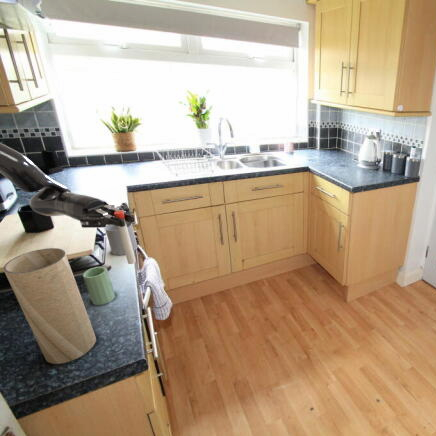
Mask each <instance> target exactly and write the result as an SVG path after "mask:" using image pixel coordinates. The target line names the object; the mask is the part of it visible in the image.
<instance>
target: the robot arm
mask: <svg viewBox="0 0 436 436" xmlns="http://www.w3.org/2000/svg"><path fill="white" fill-rule="evenodd" d="M0 174H1V175H3V177H5V178H6V179H7V180H9V182H11V183H12V184H13V185H15V186H16V187H17V188H18V189H19V190H21V191H22V192H24V193H35V192H36V193H35V194H34V195H33V196H31V198H30V199H29V207H30V208H31V209H32V210H33V211H34V212H35V213H37V214H39V215H42V216H46V217H61V216H65V217H69V218H71V219H73V220H76V221H78V222H79V223H80V226H81V228H83V229H84V228H85V229H88V228H89V229H90V228H95V229H96V228H99V229H102V228H105V227H106V226H107V225H115V226H120V227H124V226H125V222H124V220H123V219H122V218H118V217H115V215H114V212H116V211H123V212H124V216H125V221H126V222H130V223H132V224H133V223H135V220H136V219H135V215H134V214H132V213H131V210H130V207H129V205H128V204H127V202H122V203H121V204H120V205H118V206H116V204H109V203H108V202H107V201H105V200H104V199H102V198H97V197H94V196H91V195H87V194H80V193H76V192H72V190H71V189H70V188H69V187H67V186H66V185H64V184H63V183H61V182H59V181H56V180H54V179H53V178H51V177H50V176H48V175H47V174H46V173H44V172H43V170H41V169H40V168H39V167H38V165H36V164H35V163H34V162H33V161H32V160H31V159H30V158H29V157H27V156H26V155H24V154H22V153H21V152H19V151H17V150H15V149H14V148H12V147H9V146H8V145H6V144H5V143H2V142H0Z"/></svg>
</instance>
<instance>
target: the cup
mask: <svg viewBox="0 0 436 436" xmlns="http://www.w3.org/2000/svg"><path fill="white" fill-rule="evenodd" d="M126 225H127V229H128V233H129V236H130V240H131V244H132V248H133V252H135V251H136V250H138V248H139V247H138V242H137V239H136V234H135V230H134V226H133V223H130V222H126ZM104 230H105V233H106V238H107V240H108V244H109V248H110V250H111V254H112V255H115V256H126V254H125V250H124V246H123V243H122V239H121V235H120V232H119V228H118V226H115V225H106V227H104Z"/></svg>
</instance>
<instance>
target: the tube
mask: <svg viewBox="0 0 436 436" xmlns="http://www.w3.org/2000/svg"><path fill="white" fill-rule="evenodd" d="M71 267H72V266H71V265H70V262H69V259H68V257H67V253H66V251H65V250H64V249H62V248H56V247H49V248H41V249H36V250H32V251H28V252H25V253H22V254H20V255H18V256H15V257H14V258H12V259H10V260H8V261H7V262H6V263H4V265H3V272H4V274H5V277H6V278H7V281H8V283H9V284H10V287H11V288H12V292H13V294H14V295H15V297H16V300H17V302H18V303H19V306H20V309H21V310H22V313H23V315H24V317H25V319H26V321H27V323H28V324H29V327H30V329H31V331H32V333H33V336H34V338H35V340H36V342H37V344H38V346H39V348H40V351H41V353H42V355H43V357H44V359H45V361H46V362H47V363H49V364H52V365H61V364H66V363H70V362H72V361H75V360H77V359H79V358H81V357H82V356H84V355H86V354H87V353H88V352H89V351H91V349H92V348H94V345H95V344H96V342H97V337H96V334H95V331H94V328H93V325H92V323H91V320H90V317H89V314H88V312H87V309H86V306H85V304H84V300H83V298H82V295H81V292H80V289H79V287H78V284H77V281H76V279H75V276H74V273H73V270H72V268H71Z"/></svg>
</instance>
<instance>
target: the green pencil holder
mask: <svg viewBox="0 0 436 436" xmlns="http://www.w3.org/2000/svg"><path fill="white" fill-rule="evenodd" d="M82 278H83V281H84V283H85V286H86V289H87V292H88V295H89V298H90V301H91V303H92V304H93V305H94V306H101V305H102V306H103V305H105V304H108V303H110V302H112V301H113V300H114V299H115V296H116V294H115V290H114V287H113V285H112V281H111V277H110V274H109V272H108V268H107V267H106V266H94V267H91V268H89V269H87V270H85V271H84V272H83V274H82Z"/></svg>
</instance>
